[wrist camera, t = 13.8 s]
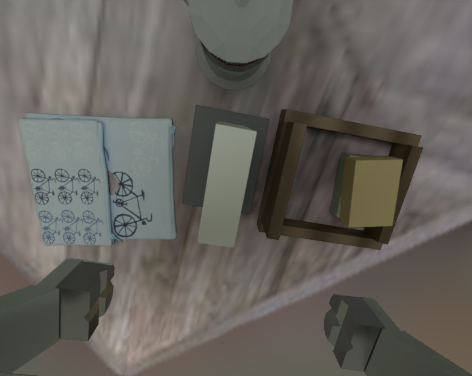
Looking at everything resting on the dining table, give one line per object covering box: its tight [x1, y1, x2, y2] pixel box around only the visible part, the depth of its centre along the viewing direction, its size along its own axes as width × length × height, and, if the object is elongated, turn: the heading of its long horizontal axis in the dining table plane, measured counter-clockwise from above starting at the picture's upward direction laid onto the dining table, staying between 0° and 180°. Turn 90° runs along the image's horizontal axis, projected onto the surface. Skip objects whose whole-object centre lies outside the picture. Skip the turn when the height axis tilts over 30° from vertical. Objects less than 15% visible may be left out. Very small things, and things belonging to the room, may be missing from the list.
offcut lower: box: [329, 153, 368, 217], centre depth 38 cm, size 6×9×3 cm, turn 174°
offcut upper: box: [339, 156, 403, 227], centre depth 35 cm, size 6×9×3 cm, turn 1°
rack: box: [257, 109, 423, 250], centre depth 35 cm, size 18×17×8 cm
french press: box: [184, 0, 293, 90], centre depth 21 cm, size 10×12×25 cm
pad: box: [183, 105, 269, 214], centre depth 37 cm, size 10×14×1 cm
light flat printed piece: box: [18, 113, 177, 247], centre depth 37 cm, size 19×20×2 cm
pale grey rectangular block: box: [197, 121, 257, 248], centre depth 30 cm, size 4×11×14 cm, turn 170°
